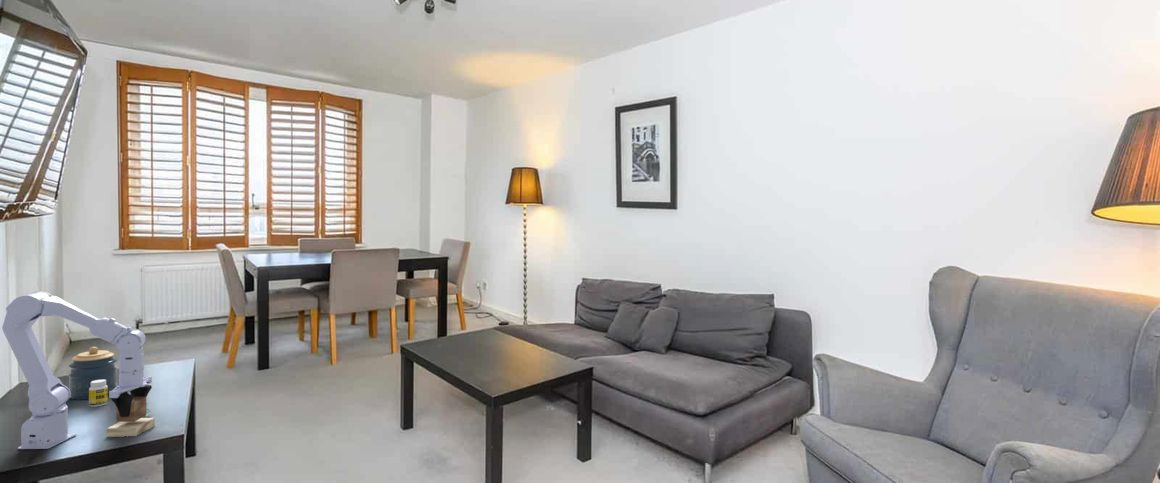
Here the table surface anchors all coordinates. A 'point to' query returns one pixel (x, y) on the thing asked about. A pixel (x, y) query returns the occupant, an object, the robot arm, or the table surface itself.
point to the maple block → (130, 427)
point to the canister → (91, 372)
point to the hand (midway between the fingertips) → (131, 413)
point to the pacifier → (147, 412)
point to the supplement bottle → (98, 393)
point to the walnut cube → (134, 410)
